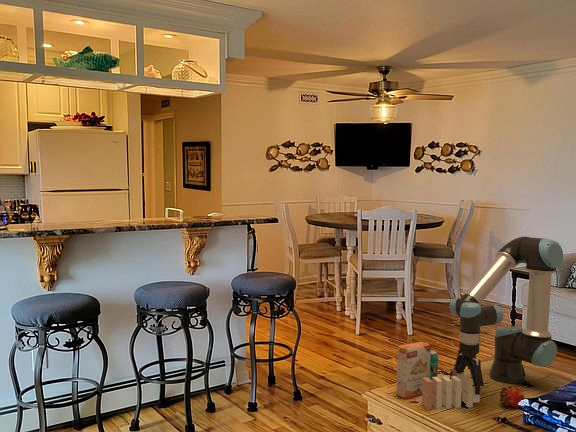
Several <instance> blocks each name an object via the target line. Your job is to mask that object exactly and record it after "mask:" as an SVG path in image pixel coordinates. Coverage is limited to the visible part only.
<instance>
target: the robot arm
mask: <svg viewBox="0 0 576 432" xmlns="http://www.w3.org/2000/svg"><path fill="white" fill-rule="evenodd" d="M563 261H564V252H563V247H562V246H561V245H560V243H559V242H558V241H556V240H554V239H550V238H549V239H548V238H543V237H531V236H519V237H516V238H514V239H512V240H510V241H509V242H507V243H506V244H504V245H503V246H502V247H501V248H500V249H499V250H498V251H497V252H496V254H495V259H494V260H492V262H491V263H490V264H489V265H488V266H487V268H486V269H485V270H484V271H483V272H482V273H481V274H480V276H479V277H478V278H477V279H476V280H475V281H474V283H473V284H472V285H471V286H470V287H469V289H467V291H465V293H464V294H463V295H462V296H461V297H454V298H453V299H452V300H451V301H450V303H449V307H448V308H449V311H450V313H451V314H452V315H453V316H455V317H458V318H460V319H459V334H458V337H459V341H460V342H459V343H458V344H459V347H458V348H459V349H458V351H457V356H456V359H455V364H454V366H453V369H455V370H456V372H457V377H458V378H459V379H461V380H462V387H463V376H464V375H465V369H466V368H467V369H468V370H469V372H470V376H471V378H472V380H473V385H472V386H473V389H472V402H473V404H474V403H480V401H481V400H480V398H481V387H484V386H485V383H484V378H483V372H482V367H481V366H482V365H481V359H477V355H478V354H480V341H481V337H480V336H481V327H485V326H491V325H492V326H494V325H495V324H500V323H501V322H503V320H504V311H503V309H502V308H501V307H500V306H499V305H496V304H490V305H486V304H482V302H484V301H485V299H486V298H487V297H488V295H489V294H490V293H491V292H492V291H493V290H494V289H495V287H496V286H498V284H499V283H500V282H501V280H502V279H503V278H504V277H505V276H506V275H507V274H508V273H509V271H510V270H511V269H515V268H516V267H517V265H519V264H525V269H526V271H527V272H528V273H529V276H528V277H529V278H528V279H529V280H528V293H527V305H526V322H525V323H526V325H525V328H523V327H520V326H519V327H518V326H501V327H497V328H496V329H495V336H494V359H493V362H492V365H491V367H490V369H489V377H490V378H491V379H492V380H495V381H497V382H500V383H505V384H513V385H514V384H515V385H516V384H517V385H518V384H523V383H525V382H526V380H527V377H526V376H527V375H526V372H525V368H524V365H523V362H524V363H528V364H531V365H533V366H537V367H541V368H544V367H545V368H546V367H548V366H549V365H551V364H552V363H553V362H554V360H555V359H556V357H557V353H558V347H557V343H556V342H554V341H553V340H552V334H551V333H550V331H549V321H550V319H549V318H550V306H551V303H550V302H551V290H552V289H551V288H552V287H551V286H552V275H554V273H557V272H556V271H557V268H559V267H561V265H562V263H563ZM461 391H462V388H461Z"/></svg>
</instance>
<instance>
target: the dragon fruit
mask: <svg viewBox="0 0 576 432" xmlns="http://www.w3.org/2000/svg"><path fill="white" fill-rule="evenodd" d="M499 397H500V398H499V401H500V402H502V404H503V405H504V406H505V407H507V408H510V407H513V408H516V409H518V408H519V406H518V403H519V402H520V401H521V400H524V399H525V395H524V391H523V389H520V388H519V387H517V386H514V387H513V386H507V387H506V386H505V387H502V388H501V390H500V391H499ZM524 401H525V400H524Z"/></svg>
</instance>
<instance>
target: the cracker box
mask: <svg viewBox="0 0 576 432" xmlns="http://www.w3.org/2000/svg"><path fill="white" fill-rule="evenodd" d="M431 350H432V345H431V344H430V343H427V342H424V341H417V342H411V343H407V344H406V343H405V344H402V345H401V344H400V345H399V346H397V362H396V363H397V366H396V394H395V395H396V396H398V397H399V398H402V399H404V400H409V399H412V398H415V397H419V396H422V381H423V377H428V378H429V379H430V357H431Z"/></svg>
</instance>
